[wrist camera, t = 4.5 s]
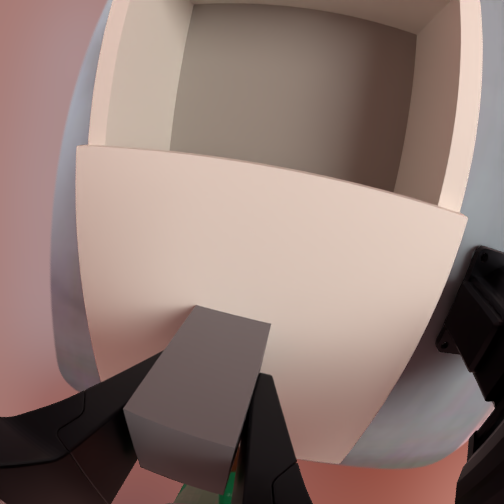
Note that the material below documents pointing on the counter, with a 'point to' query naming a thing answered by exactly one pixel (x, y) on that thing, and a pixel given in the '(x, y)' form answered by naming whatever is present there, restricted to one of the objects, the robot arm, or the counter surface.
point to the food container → (207, 492)
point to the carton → (300, 86)
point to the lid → (251, 298)
